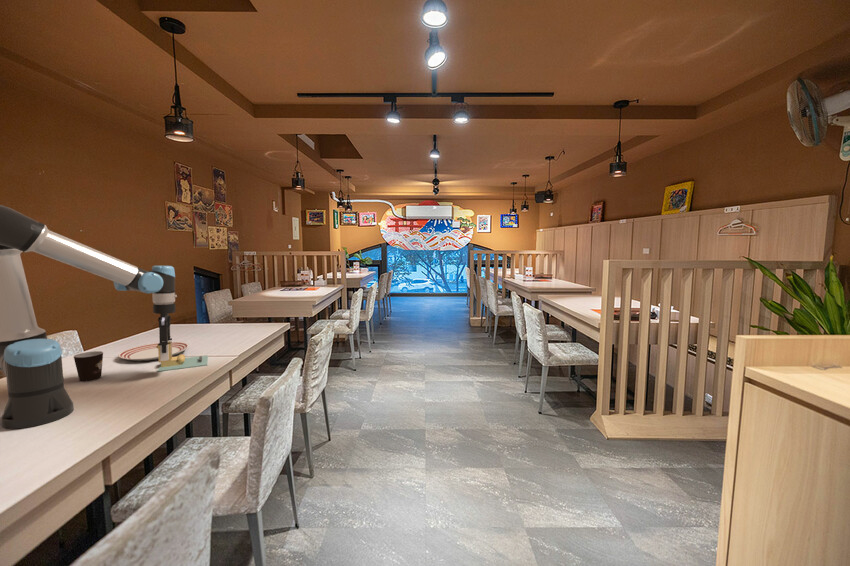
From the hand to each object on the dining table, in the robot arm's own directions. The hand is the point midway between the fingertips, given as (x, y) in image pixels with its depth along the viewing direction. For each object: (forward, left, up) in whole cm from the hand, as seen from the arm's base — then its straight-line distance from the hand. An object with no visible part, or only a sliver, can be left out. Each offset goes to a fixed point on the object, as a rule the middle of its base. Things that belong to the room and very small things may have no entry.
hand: (165, 358), depth 150 cm
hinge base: (+12, -6, -6) cm, 15 cm away
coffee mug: (+8, +24, -7) cm, 27 cm away
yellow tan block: (0, 0, -1) cm, 1 cm away
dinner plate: (+34, +7, -7) cm, 36 cm away
